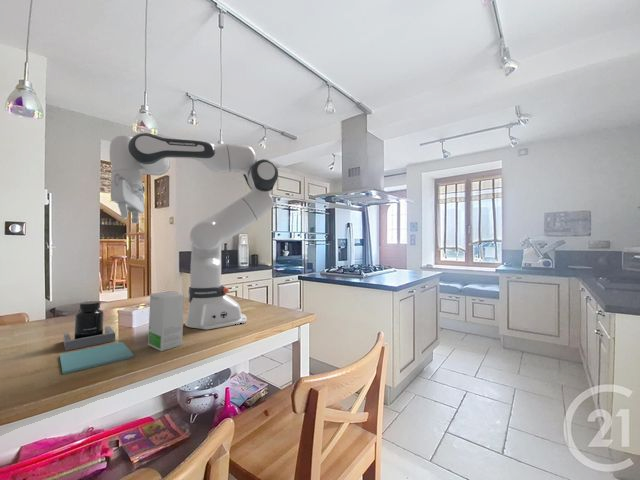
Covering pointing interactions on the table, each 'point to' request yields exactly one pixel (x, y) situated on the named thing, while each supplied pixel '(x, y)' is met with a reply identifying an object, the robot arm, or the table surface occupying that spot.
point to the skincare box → (166, 320)
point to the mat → (94, 357)
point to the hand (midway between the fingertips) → (130, 220)
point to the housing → (88, 340)
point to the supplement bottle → (89, 320)
